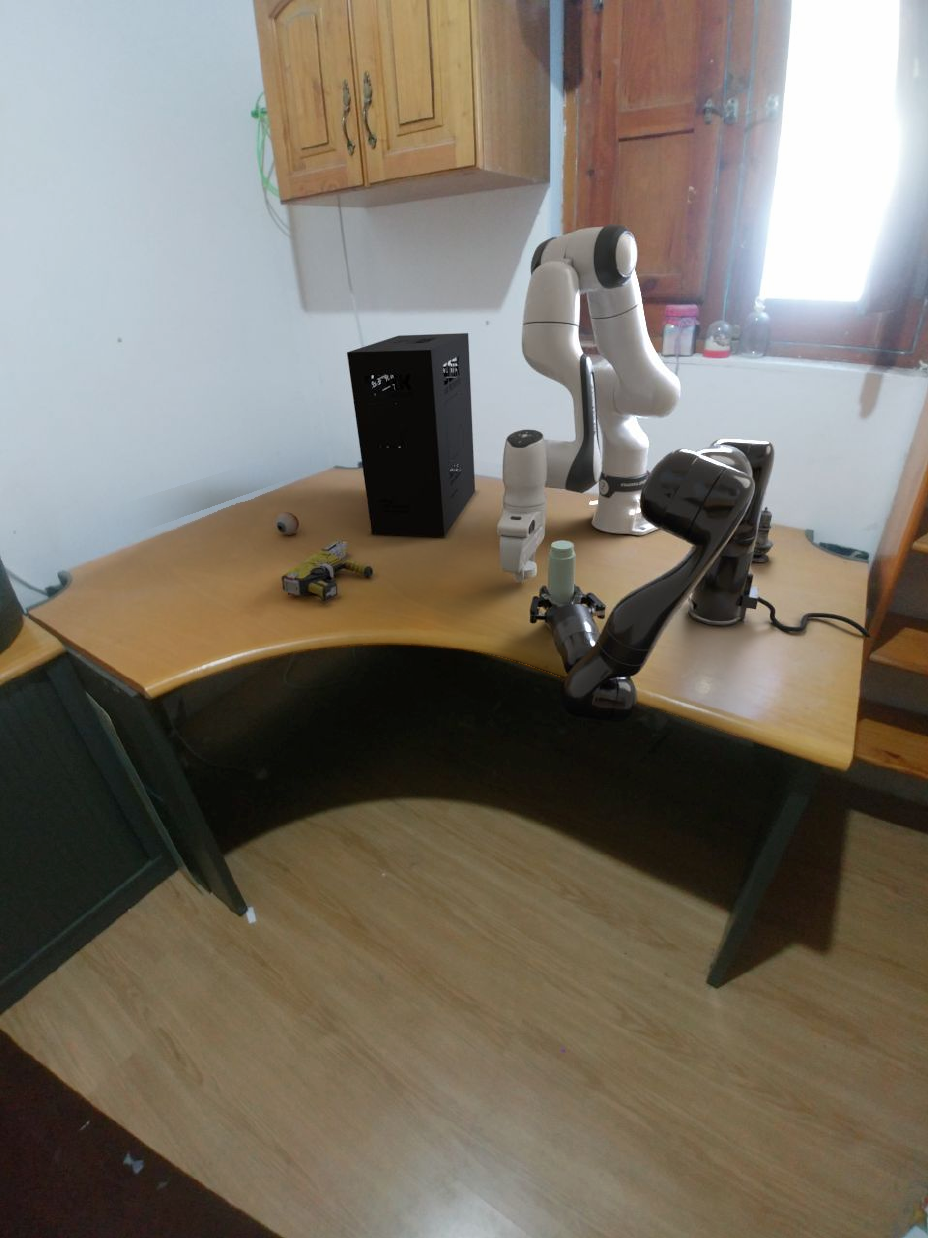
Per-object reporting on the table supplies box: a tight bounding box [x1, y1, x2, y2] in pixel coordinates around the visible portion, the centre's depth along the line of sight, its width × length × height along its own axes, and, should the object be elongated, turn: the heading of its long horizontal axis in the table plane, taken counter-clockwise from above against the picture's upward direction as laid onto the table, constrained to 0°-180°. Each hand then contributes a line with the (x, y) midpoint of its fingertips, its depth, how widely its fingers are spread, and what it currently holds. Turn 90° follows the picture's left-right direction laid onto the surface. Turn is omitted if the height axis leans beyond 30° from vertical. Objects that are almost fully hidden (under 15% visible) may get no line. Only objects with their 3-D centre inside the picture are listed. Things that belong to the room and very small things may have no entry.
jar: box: [546, 540, 576, 629], centre depth 112 cm, size 5×5×17 cm
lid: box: [511, 560, 538, 580], centre depth 130 cm, size 5×5×2 cm
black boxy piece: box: [346, 332, 476, 538], centre depth 164 cm, size 38×20×45 cm, turn 167°
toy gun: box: [281, 539, 374, 603], centre depth 138 cm, size 5×24×15 cm
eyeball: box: [275, 511, 300, 536], centre depth 163 cm, size 6×6×6 cm
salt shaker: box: [752, 506, 774, 563], centre depth 134 cm, size 6×6×12 cm
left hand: (524, 574), depth 131 cm, fingers closed on lid, 5 cm apart
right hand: (558, 589), depth 115 cm, fingers closed on jar, 5 cm apart
